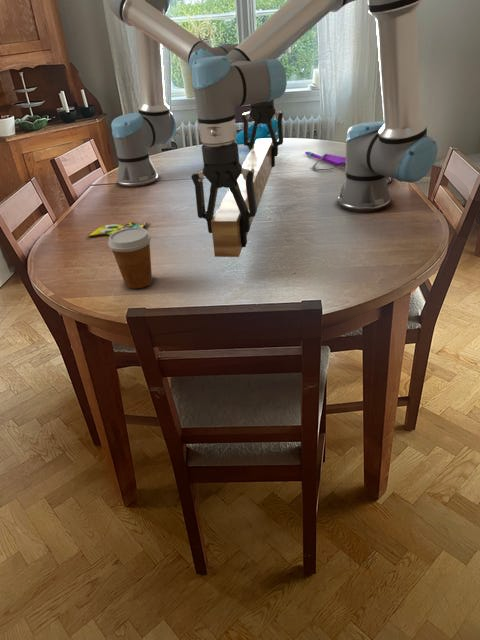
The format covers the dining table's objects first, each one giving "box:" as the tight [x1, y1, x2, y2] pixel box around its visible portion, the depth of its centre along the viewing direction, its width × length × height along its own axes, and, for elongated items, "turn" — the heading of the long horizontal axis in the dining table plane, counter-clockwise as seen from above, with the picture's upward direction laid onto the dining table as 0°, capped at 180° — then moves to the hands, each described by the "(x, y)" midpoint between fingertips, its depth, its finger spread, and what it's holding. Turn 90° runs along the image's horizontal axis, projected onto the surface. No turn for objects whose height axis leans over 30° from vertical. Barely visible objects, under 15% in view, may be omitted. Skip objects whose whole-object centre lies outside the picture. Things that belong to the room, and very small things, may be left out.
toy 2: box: [235, 118, 279, 151], centre depth 207 cm, size 17×11×30 cm
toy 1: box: [88, 221, 148, 238], centre depth 142 cm, size 10×1×15 cm
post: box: [211, 138, 273, 258], centre depth 136 cm, size 75×6×8 cm, turn 170°
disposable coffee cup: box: [107, 227, 153, 289], centre depth 110 cm, size 10×10×12 cm
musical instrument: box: [304, 151, 346, 171], centre depth 185 cm, size 24×2×20 cm
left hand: (264, 165), depth 165 cm, fingers closed on post, 6 cm apart
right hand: (230, 244), depth 112 cm, fingers closed on post, 6 cm apart
